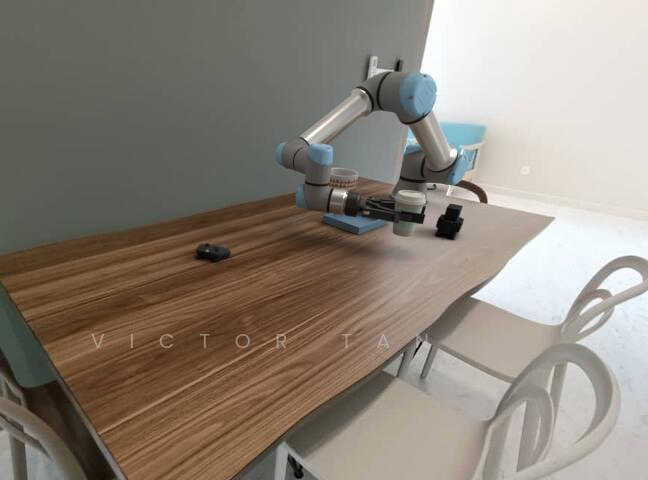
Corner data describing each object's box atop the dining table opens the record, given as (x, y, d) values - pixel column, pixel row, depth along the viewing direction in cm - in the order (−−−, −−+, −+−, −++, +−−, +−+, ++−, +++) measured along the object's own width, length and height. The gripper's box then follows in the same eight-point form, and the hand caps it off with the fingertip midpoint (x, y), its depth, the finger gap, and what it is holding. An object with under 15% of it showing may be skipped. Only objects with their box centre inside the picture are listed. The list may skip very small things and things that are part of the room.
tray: (351, 212, 152) (352, 206, 151) (386, 224, 143) (387, 217, 142) (322, 221, 142) (323, 214, 140) (358, 234, 132) (359, 227, 131)
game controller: (232, 251, 113) (226, 242, 107) (227, 268, 111) (220, 260, 106) (202, 245, 115) (194, 236, 109) (196, 262, 114) (188, 254, 108)
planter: (320, 197, 169) (324, 166, 162) (352, 200, 168) (357, 169, 161) (319, 206, 157) (323, 174, 151) (354, 209, 156) (359, 177, 149)
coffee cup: (418, 231, 120) (428, 192, 114) (414, 240, 113) (425, 199, 107) (390, 226, 123) (398, 187, 117) (385, 234, 116) (393, 194, 110)
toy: (462, 229, 143) (470, 202, 138) (455, 241, 132) (464, 212, 127) (440, 224, 146) (448, 198, 141) (432, 235, 135) (440, 207, 130)
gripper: (350, 205, 130) (422, 216, 124) (337, 225, 113) (420, 239, 107) (353, 183, 126) (428, 193, 120) (341, 199, 109) (427, 212, 103)
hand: (424, 214), depth 113 cm, fingers closed on coffee cup, 8 cm apart
